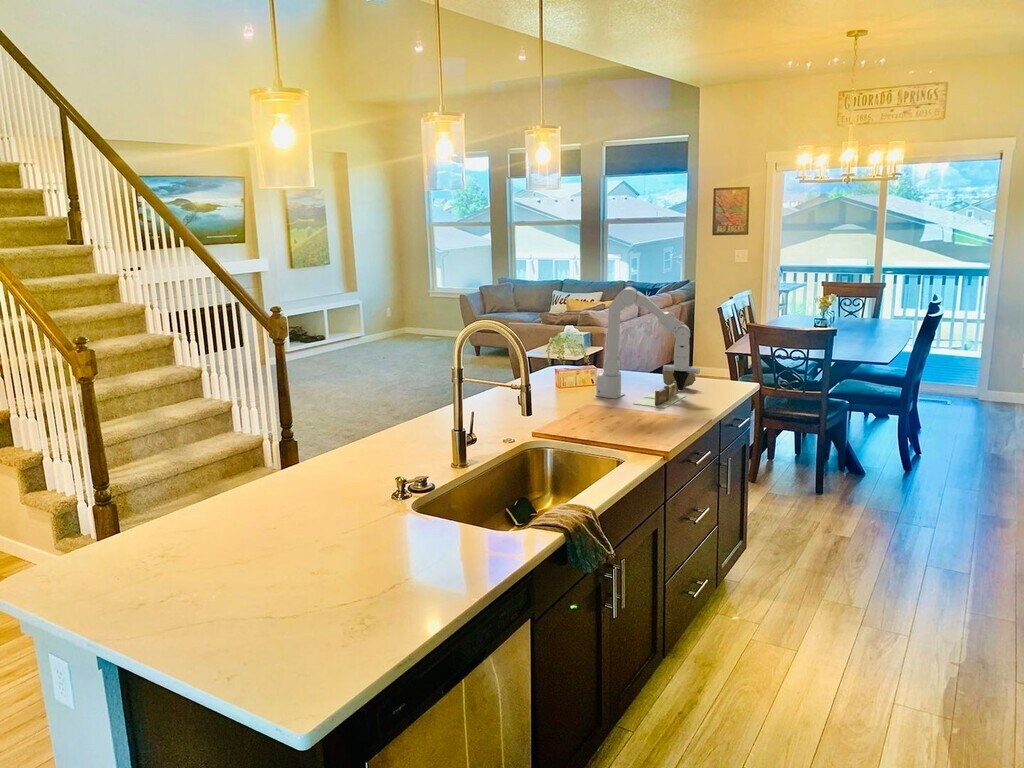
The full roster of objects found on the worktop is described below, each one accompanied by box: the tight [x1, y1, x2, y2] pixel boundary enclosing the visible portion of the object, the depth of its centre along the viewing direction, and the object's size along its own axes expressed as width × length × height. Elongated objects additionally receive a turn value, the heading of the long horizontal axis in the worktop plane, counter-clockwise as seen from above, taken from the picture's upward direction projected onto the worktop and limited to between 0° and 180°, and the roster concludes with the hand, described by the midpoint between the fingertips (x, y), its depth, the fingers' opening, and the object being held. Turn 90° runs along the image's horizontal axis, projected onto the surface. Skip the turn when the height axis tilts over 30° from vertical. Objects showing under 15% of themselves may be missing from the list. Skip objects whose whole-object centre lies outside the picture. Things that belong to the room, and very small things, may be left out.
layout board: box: [633, 392, 687, 409], centre depth 300 cm, size 13×22×1 cm, turn 147°
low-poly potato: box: [662, 370, 697, 389], centre depth 319 cm, size 15×11×12 cm
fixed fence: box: [654, 385, 669, 406], centre depth 295 cm, size 2×11×6 cm, turn 147°
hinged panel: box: [669, 381, 678, 398], centre depth 303 cm, size 8×2×5 cm, turn 147°
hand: (680, 390), depth 302 cm, fingers closed
